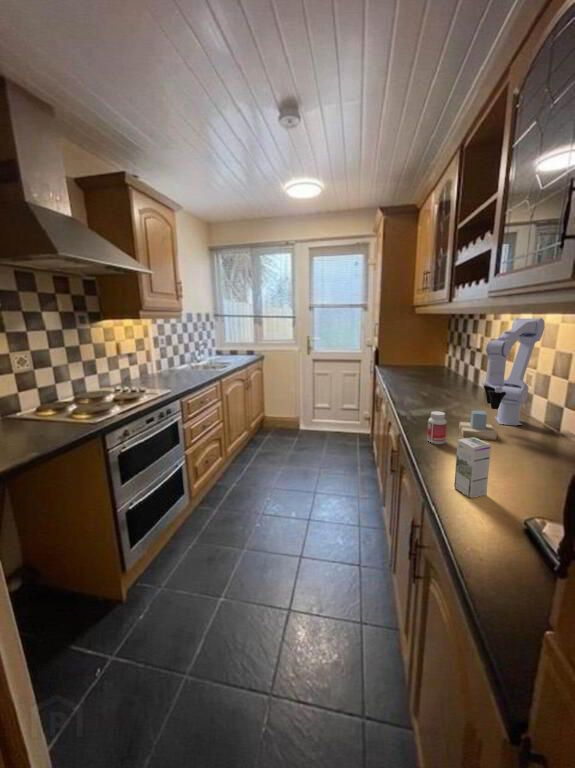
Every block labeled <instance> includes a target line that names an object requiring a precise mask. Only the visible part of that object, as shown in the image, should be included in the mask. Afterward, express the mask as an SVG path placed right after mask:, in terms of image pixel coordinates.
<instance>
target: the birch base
mask: <svg viewBox="0 0 575 768" xmlns="http://www.w3.org/2000/svg"><path fill="white" fill-rule="evenodd" d="M470 422H471V421H470ZM470 422H469V421H459V426H458V427H459V430H460V433H461V435H462V437H463V438H468V437H475V438H477V439H485V440H493V441H494V440H495V441H496V440H497V437H498V432H497V431H496V430H495V428H494V426H493V425H492V424H491V423H486V430H484V429H472V427H471V425H470Z"/></svg>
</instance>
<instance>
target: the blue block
mask: <svg viewBox="0 0 575 768" xmlns="http://www.w3.org/2000/svg"><path fill="white" fill-rule="evenodd" d="M470 414H471V415H470V425H471V427H472V429H484V430H486V424H487V420H488V419H487V418H488V414H487V413H486V411H485V410H475V409H474V410H471V413H470Z"/></svg>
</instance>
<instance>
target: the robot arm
mask: <svg viewBox="0 0 575 768" xmlns="http://www.w3.org/2000/svg"><path fill="white" fill-rule="evenodd" d="M545 325H546V324H545V320H544V318H542V317H541V318H519V317H516V318H515V319H514V320H513V322H512V324H511V329H510V330H504V332H503V333H501V334H500V335H499V336H498V337H497V338H495V339H492V340H491V341H488V343H487V345H486V348H485V352H486V359H487V371H486V379H485V380H486V381H484V382H482V385H483V389H484V392H485V396H486V403H487V404H489V405H490V408H491V410H497V416H494V419H495V421H497V422H498V424H499V425H503V424H504V425H505V426H517V425H522V426H523V424H522V423H521V422H520V421H519V420H520V417H521V416H520V413H521V408H522V407H521V405H522V404H524V403H525V402H526V401H527V399H528V392H529V385H527V383H526V382H525V381H523V380H524V377H525V374H526V372H527V368H528V365H529V362H530V360H531V356H532V352H533V350H534V348H535V344H536V343H537V342H540V341H541V340H542V337H543V334H544V331H545V328H546V327H545ZM517 342H519V347H518V349H517V352H516V355H515V358H514V361H513V364H512V368H511V370H510V374H509V376H508V377H507V378H506V379H505V374H506V373H505V372H506V365H507V364H506V363H507V356H509V354H510V352H511V350H512V348H513V346H514V345H515V344H516V343H517Z"/></svg>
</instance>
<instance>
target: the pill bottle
mask: <svg viewBox="0 0 575 768" xmlns="http://www.w3.org/2000/svg"><path fill="white" fill-rule="evenodd" d="M446 435H447V420H446V413H445V412H443V411H434V410H433V411H431V413H430V417H429V418H428V420H427V439H426V440H427V441H429V442H428V443H430V442H431V443H430V444H433V443H434V445H443V444H445V443H446V439H447V438H446V437H447V436H446Z"/></svg>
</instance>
